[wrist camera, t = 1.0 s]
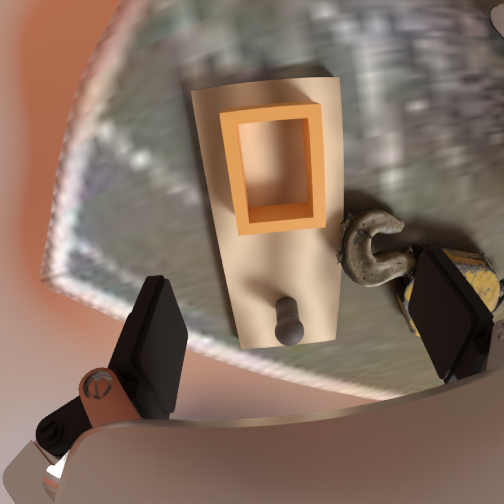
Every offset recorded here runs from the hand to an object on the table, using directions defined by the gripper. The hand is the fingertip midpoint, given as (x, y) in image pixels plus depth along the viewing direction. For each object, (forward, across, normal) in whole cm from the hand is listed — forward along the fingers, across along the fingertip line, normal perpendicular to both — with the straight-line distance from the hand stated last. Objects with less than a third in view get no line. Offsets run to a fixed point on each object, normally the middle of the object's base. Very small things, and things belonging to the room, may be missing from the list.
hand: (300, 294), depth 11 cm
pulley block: (+18, -18, +15) cm, 30 cm away
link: (+17, 0, 0) cm, 17 cm away
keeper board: (+18, 0, +8) cm, 20 cm away
